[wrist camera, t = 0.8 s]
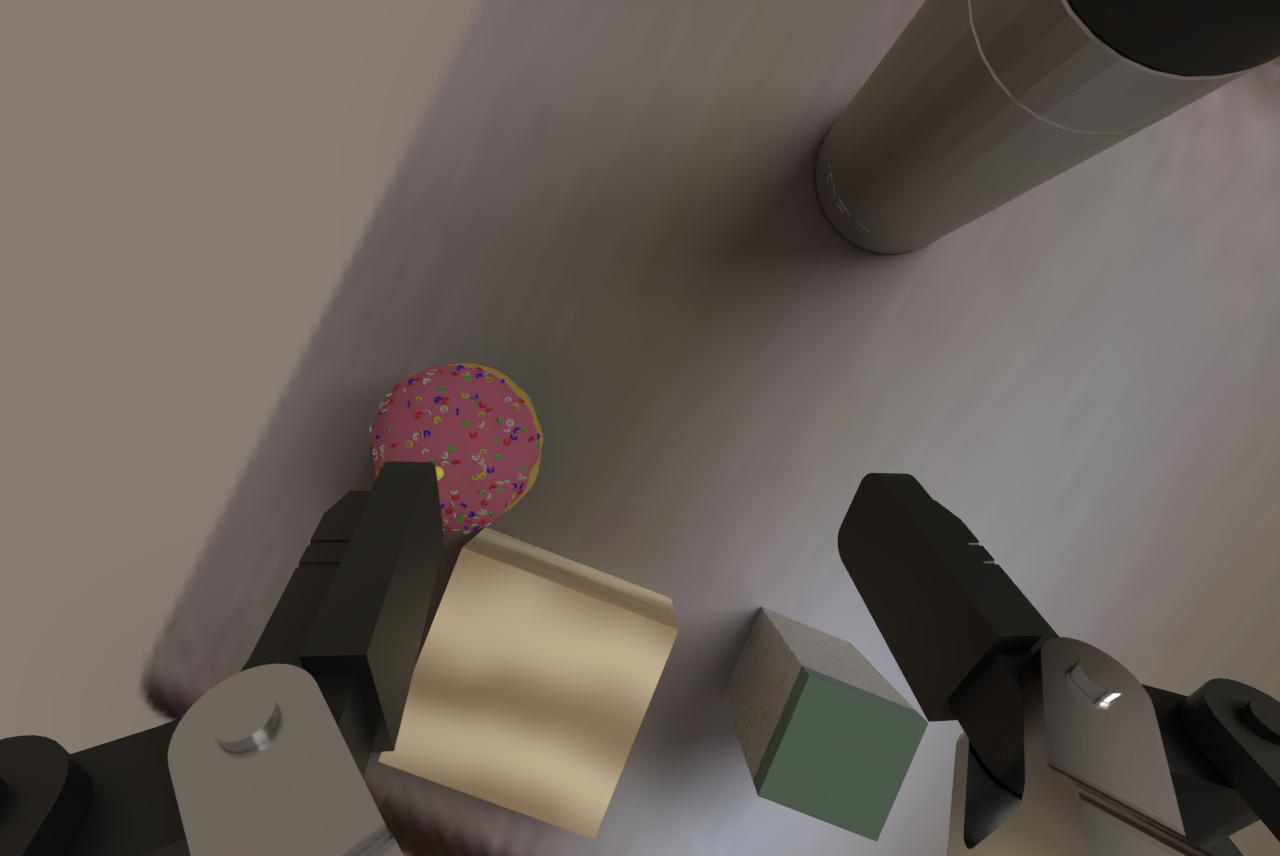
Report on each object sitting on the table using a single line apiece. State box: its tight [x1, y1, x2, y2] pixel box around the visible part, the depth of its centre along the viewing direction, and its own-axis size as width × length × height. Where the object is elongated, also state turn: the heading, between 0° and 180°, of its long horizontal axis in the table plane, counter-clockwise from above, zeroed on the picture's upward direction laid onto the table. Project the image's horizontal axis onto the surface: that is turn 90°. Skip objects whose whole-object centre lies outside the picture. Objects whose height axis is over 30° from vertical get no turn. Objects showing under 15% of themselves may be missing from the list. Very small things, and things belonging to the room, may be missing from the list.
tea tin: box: [724, 607, 928, 841], centre depth 29 cm, size 6×6×8 cm
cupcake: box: [369, 363, 543, 534], centre depth 26 cm, size 9×8×12 cm
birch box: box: [378, 527, 679, 839], centre depth 30 cm, size 12×12×5 cm
